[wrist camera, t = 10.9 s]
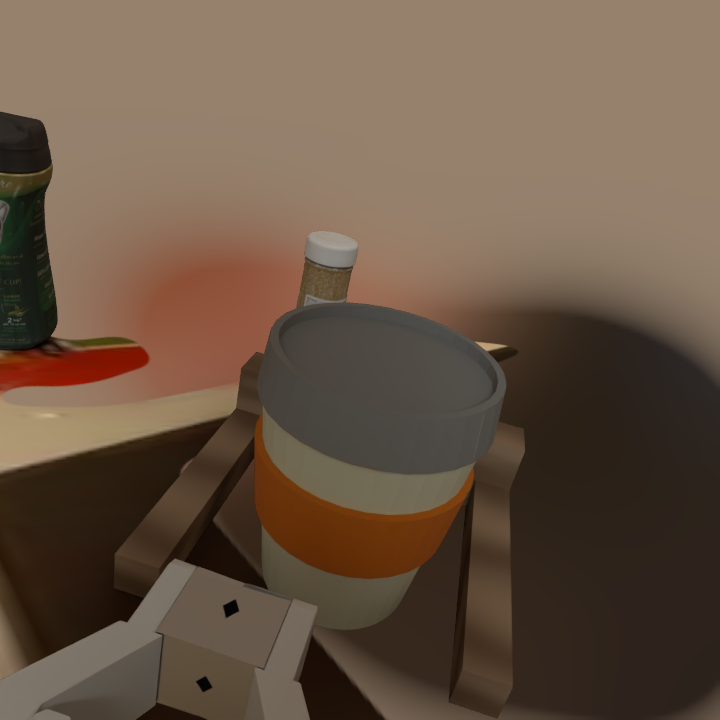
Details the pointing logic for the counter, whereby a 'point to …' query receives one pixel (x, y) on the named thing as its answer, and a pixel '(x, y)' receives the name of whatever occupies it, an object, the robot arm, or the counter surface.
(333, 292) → the spice jar
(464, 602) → the walnut bay
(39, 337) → the coffee jar
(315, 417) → the reusable coffee cup
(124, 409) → the counter surface
